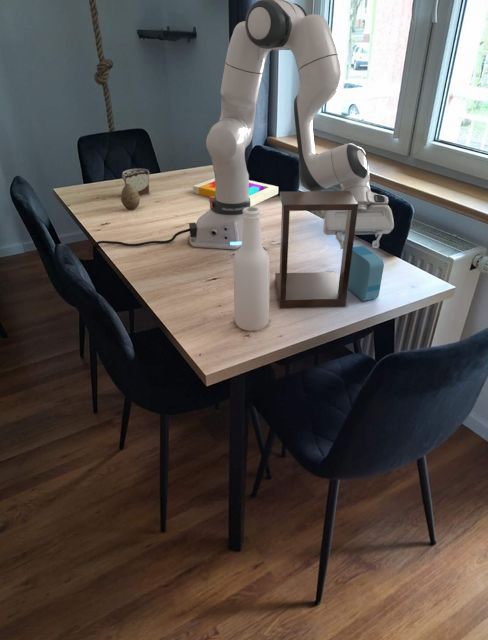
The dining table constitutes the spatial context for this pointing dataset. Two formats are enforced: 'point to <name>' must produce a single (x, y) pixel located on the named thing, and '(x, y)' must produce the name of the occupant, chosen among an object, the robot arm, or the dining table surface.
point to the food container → (137, 180)
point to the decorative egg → (130, 197)
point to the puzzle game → (256, 190)
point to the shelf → (316, 285)
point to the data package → (365, 273)
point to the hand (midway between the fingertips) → (359, 247)
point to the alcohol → (251, 275)
